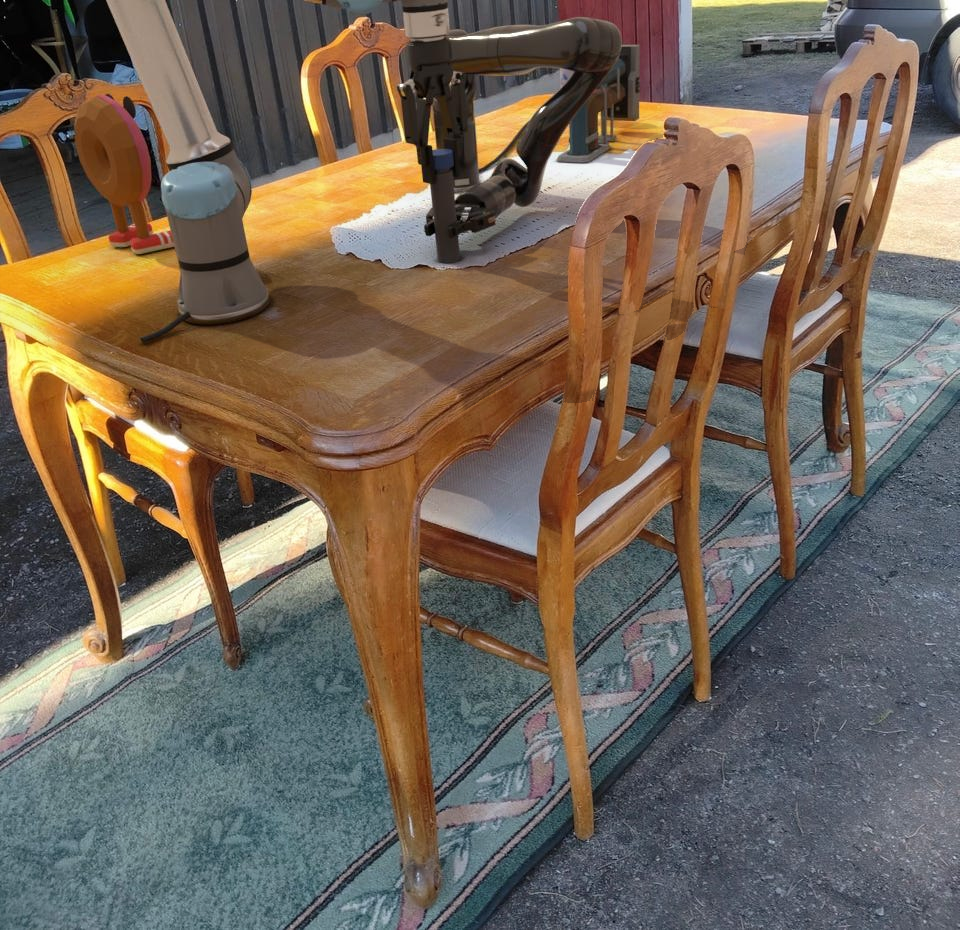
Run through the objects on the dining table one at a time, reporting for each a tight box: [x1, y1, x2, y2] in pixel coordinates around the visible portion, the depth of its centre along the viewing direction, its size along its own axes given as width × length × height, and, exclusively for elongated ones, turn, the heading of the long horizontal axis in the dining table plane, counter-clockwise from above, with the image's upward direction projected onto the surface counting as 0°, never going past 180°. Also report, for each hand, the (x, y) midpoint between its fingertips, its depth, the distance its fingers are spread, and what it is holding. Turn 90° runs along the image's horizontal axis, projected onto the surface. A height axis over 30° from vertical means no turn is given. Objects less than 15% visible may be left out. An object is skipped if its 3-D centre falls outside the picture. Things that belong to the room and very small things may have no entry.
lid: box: [432, 148, 454, 170], centre depth 171 cm, size 5×5×2 cm
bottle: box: [429, 168, 461, 264], centre depth 175 cm, size 4×4×18 cm
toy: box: [73, 93, 175, 255], centre depth 194 cm, size 21×10×30 cm, turn 47°
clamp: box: [556, 44, 641, 164], centre depth 243 cm, size 35×9×21 cm, turn 151°
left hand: (441, 179), depth 172 cm, fingers closed on lid, 5 cm apart
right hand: (438, 231), depth 175 cm, fingers closed on bottle, 4 cm apart
